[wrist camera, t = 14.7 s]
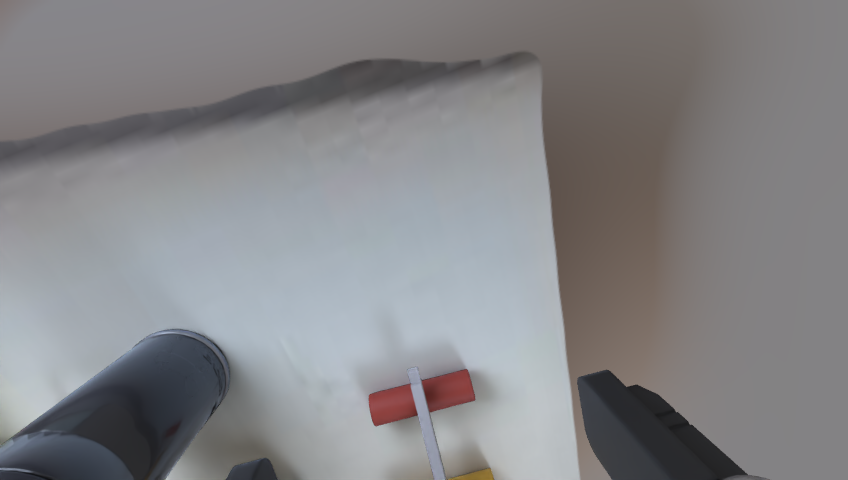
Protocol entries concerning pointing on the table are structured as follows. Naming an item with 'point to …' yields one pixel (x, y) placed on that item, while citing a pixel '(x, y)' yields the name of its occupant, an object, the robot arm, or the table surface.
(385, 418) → the red rod
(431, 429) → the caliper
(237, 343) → the table surface
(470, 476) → the yellow rod
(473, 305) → the table surface
